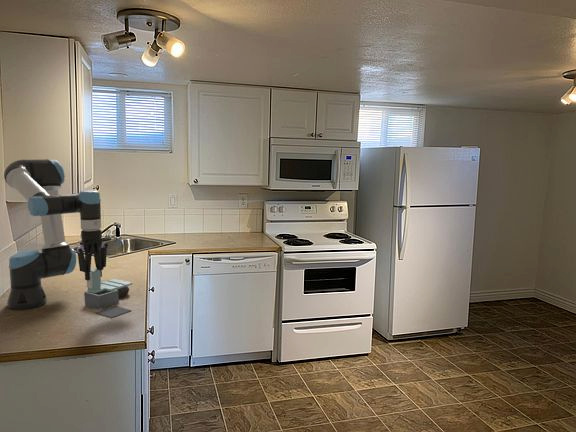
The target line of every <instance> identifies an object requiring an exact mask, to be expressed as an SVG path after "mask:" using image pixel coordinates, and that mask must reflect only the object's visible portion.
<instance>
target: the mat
mask: <svg viewBox="0 0 576 432" xmlns="http://www.w3.org/2000/svg"><path fill="white" fill-rule="evenodd" d="M129 312H132V309H129V308H124V307H121V306H117V305H113V306H111V307H109V308H104V309H102V310H100V311H97V312H95V314H96V315H99V316H103V317H105V318H106V317H107V318H109V319H114V318H116V317H119V316H122V315H124V314H127V313H129Z"/></svg>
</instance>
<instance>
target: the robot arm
mask: <svg viewBox="0 0 576 432" xmlns="http://www.w3.org/2000/svg"><path fill="white" fill-rule="evenodd" d="M65 177H66V176H65V171H64V168H63V166H62V164H61V163H60V161H58V160H56V159H47V158H46V159H18V160H15V161H13V162H11V163H9V165H8V166H7V167H6V168H5V170H4V172H3V179H4V181H5V182H6V184H7V185H8V186H9V187H10V188H12V189H14V190H16V191H17V192H18V193H20V195H21V196H22V198H24V199H25V200H26V201H27V210H28V212H29V214H30V215H31V216H33V217H40V221H41V228H42V235H43V241H44V245H43V246H42V247H41V252H40V251H39V250H37V249H30V250H23V251H19V252H16V253H15V254H13V255H11V256H10V257H9V259H8V269H9V279H10V281H9V282H10V292H9V294H8V297H7V301H6V302H7V308H8V309H10V310H28V309H34V308H38V307H41V306H43V305H45V304H46V303H47V301H48V300H47V295H46V293H45V291H44V289H43V287H42V279H47V278H52V277H58V276H65V275H67V274H68V275H69V274H71V273H73V272H74V271H75V268H76V266H77V260H78V266H79V267H78V268H79V271H80V272H83V273H84V279H85V281H86V288H87V289H88V288H93V278H92V272H90V270H91V269H92V256H93V259H94V264H95V269H97V270H100V285H101V282H102V281H101V278H102V277H103V274H102V273H103V272H102V271H103V270H104V268H106V267H107V249H108V246H109V243H107V242H103V240H102V237H103V235H102V234H103V232H102V216H101V215H102V213H101V208H102V207H101V194H100V191H99V190H93V189H92V190H80V192H79V193H69V194H59V191H60V189H62V185H63V184H64V182H65ZM77 213H79V217H80V220H79V221H80V229H81V231H80V237H81V246H79V247H76V248H75V249H74V248H72V247H71V246H70V245H71V244H69V243H68V242H67V241H66V237H65V231H64V230H65V229H64V222H63V216H62V214H63V215H65V214H77Z"/></svg>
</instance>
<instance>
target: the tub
mask: <svg viewBox="0 0 576 432" xmlns="http://www.w3.org/2000/svg"><path fill="white" fill-rule="evenodd" d="M119 299H120V298H118V290H113V291H108V290H103V291H100V292H96V293H93V292H89V291H88V290H87V291H84V306H88V307H90V308H94V309H98V310H101V309H102V310H103V309H106V308H107V307H110V306H111V307H112V306H115V305H116V304H119Z"/></svg>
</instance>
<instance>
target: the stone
mask: <svg viewBox="0 0 576 432" xmlns="http://www.w3.org/2000/svg"><path fill="white" fill-rule="evenodd" d="M116 290H118V299H124V298H125V297H127V296H128V294H129V291H130V288H129V286H126V287H123V288H120V289H116Z"/></svg>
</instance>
